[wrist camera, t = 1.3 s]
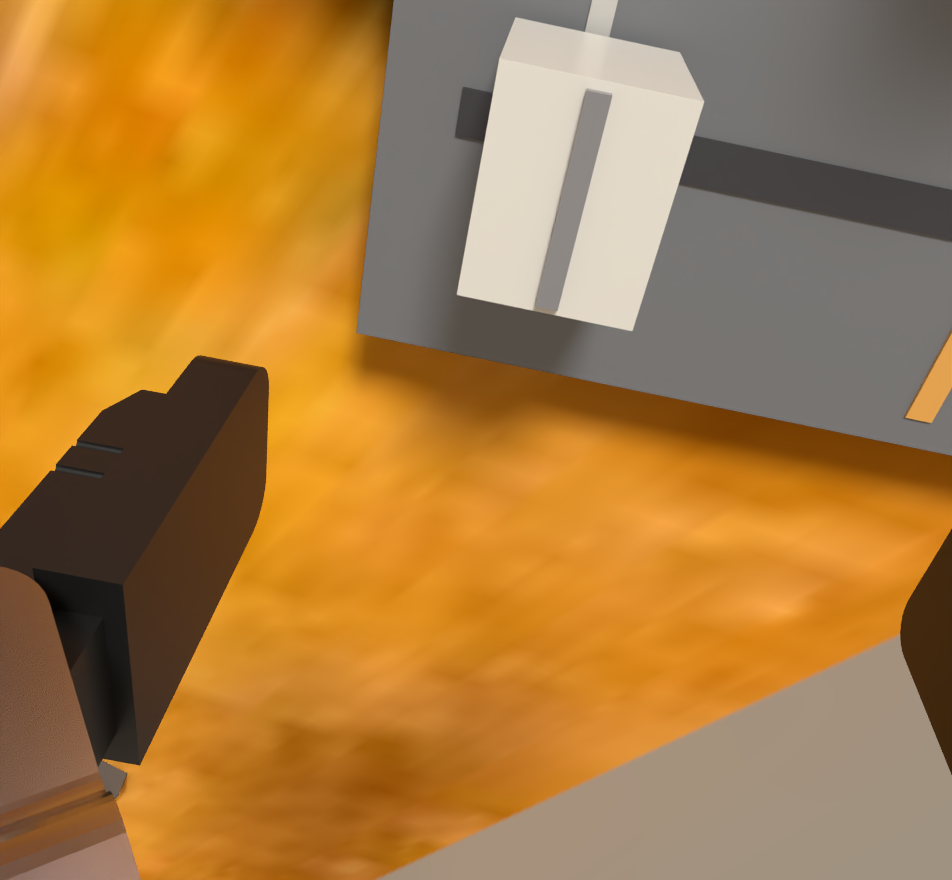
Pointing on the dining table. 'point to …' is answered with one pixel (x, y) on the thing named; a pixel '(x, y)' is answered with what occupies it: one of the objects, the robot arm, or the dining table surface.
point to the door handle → (111, 778)
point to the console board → (709, 209)
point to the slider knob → (577, 173)
